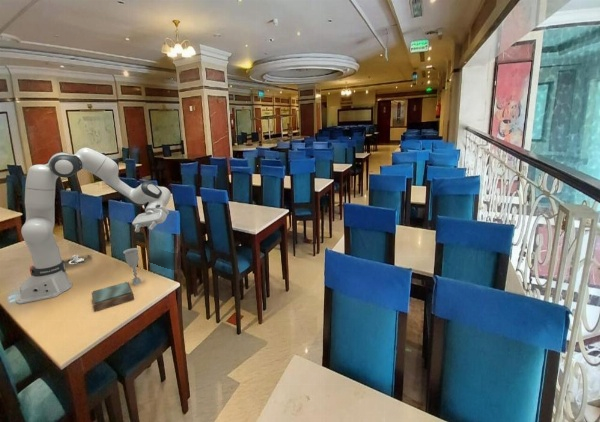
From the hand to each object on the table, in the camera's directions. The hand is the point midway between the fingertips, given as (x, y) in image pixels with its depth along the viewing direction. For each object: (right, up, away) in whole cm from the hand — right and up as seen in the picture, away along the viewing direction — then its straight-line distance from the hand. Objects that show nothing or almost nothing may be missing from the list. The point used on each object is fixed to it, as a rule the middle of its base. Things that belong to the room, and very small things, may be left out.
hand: (143, 230), depth 169 cm
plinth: (-6, -32, -17) cm, 37 cm away
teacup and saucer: (-55, -22, +25) cm, 64 cm away
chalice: (-2, -27, -2) cm, 28 cm away
